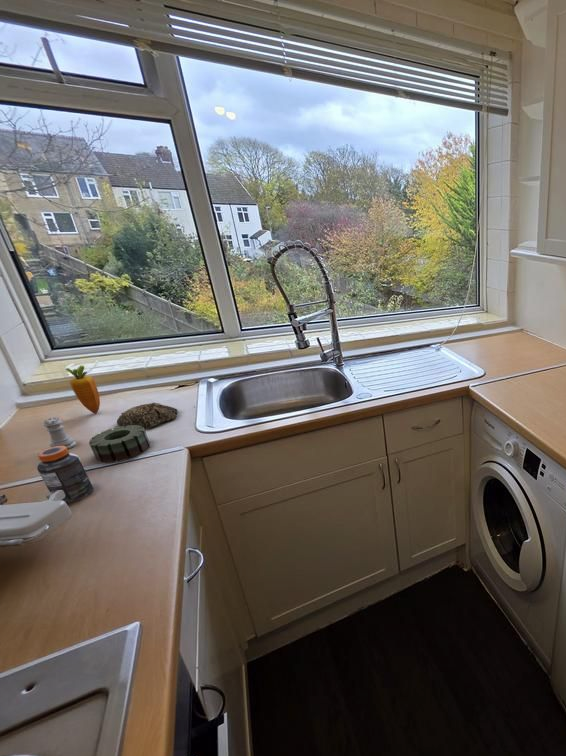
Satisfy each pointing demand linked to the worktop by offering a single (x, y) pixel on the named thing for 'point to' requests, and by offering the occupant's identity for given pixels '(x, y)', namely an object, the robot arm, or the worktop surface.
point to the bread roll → (147, 415)
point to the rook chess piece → (58, 434)
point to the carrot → (85, 389)
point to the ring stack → (119, 443)
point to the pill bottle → (64, 473)
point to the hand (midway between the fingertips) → (31, 495)
